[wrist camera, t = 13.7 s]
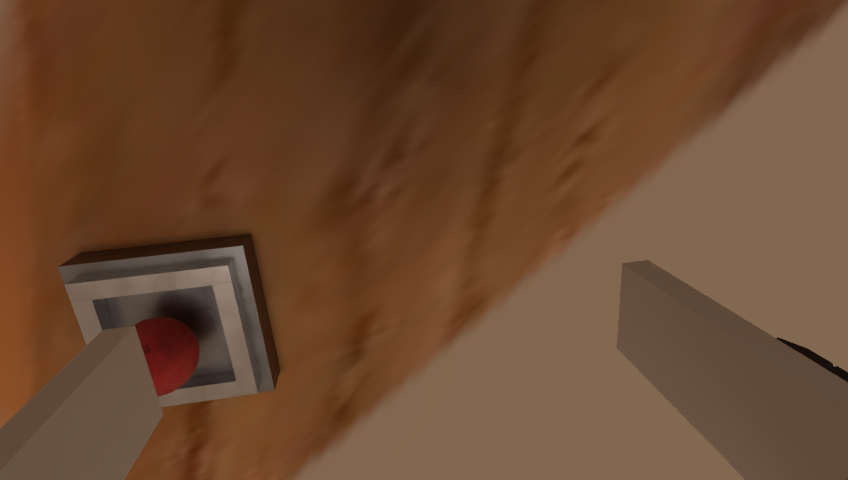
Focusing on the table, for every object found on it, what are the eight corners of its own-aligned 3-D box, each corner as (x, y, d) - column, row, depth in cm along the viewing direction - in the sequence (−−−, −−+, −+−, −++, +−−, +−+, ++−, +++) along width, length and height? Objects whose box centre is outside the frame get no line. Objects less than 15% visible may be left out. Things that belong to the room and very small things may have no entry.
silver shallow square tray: (79, 253, 39) (45, 274, 35) (251, 234, 40) (238, 252, 36) (127, 392, 43) (102, 425, 39) (280, 370, 45) (271, 400, 41)
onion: (126, 343, 39) (69, 406, 31) (155, 288, 38) (104, 340, 30) (193, 371, 40) (155, 437, 33) (223, 320, 39) (191, 376, 32)
